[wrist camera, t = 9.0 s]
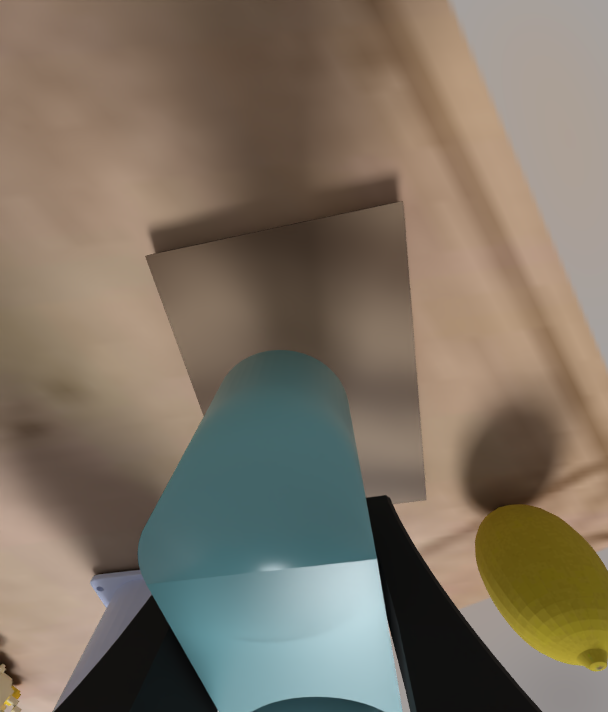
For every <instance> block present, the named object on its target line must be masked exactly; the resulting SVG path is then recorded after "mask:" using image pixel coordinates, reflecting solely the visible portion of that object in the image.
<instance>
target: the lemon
mask: <svg viewBox="0 0 608 712" xmlns="http://www.w3.org/2000/svg"><path fill="white" fill-rule="evenodd" d="M475 553H476V561H477V565H478V569H479V572H480V575H481V577H482V580H483V582H484V584H485V587H486V589H487V591H488V593H489V595H490V597H491V599H492V600H493V602H494V604H495V606H496V607H497V608H498V610H499V611H500V613H501V614H502V616H503V617H504V618H505V620H506V621H507V622H508V623H509V625H510V626H511V627H512V628H513V629H514V631H515V632H516V633H517V634H518V635H519V636H520V637H521V638H522V639H523V640H524V641H526V642H527V643H528V644H529V645H530V646H532V647H533V648H534V649H536V650H538V651H539V652H541V653H543V654H545V655H547V656H549V657H551V658H553V659H555V660H557V661H560V662H564V663H567V664H572V665H582V666H585V667H586V668H588V669H590V670H592V671H601V670H603V669H605V668H606V667H607V659H608V571H607V569H606V567H605V565H604V564H603V562H602V561H601V559H600V558H599V556H598V555H597V553H596V552H595V551H594V549H593V548H592V547H591V546H590V545H589V544H588V542H587V541H586V540H585V539H584V538H583V537H582V536H581V535H580V534H579V533H577V532H576V531H575V530H574V529H573V528H572V527H571V526H570V525H568V524H567V523H566V522H565V521H563V520H562V519H561V518H559V517H557V516H556V515H554V514H552V513H549V512H547V511H545V510H543V509H541V508H538V507H534V506H529V505H523V504H513V505H507V506H503V507H498V508H497V509H496V510H494V511H492V512H491V513H490V514H489V515H487V516H486V517H485V519H484V520H483V521H482V523H481V524H480V526H479V529H478V532H477V535H476V539H475Z"/></svg>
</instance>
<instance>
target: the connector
mask: <svg viewBox="0 0 608 712" xmlns="http://www.w3.org/2000/svg"><path fill="white" fill-rule="evenodd" d="M138 563H139V567H140V571H141V574H142V577H143V579H144V581H145V583H146V585H147V587H148V588H149V590H150V592H151V594H152V595H153V597H154V599H155V601H156V602H157V604H158V606H159V608H160V609H161V611H162V613H163V615H164V616H165V618H166V620H167V622H168V623H169V625H170V627H171V629H172V630H173V632H174V634H175V636H176V637H177V639H178V641H179V643H180V644H181V646H182V648H183V650H184V651H185V653H186V655H187V657H188V659H189V660H190V662H191V664H192V666H193V667H194V669H195V671H196V673H197V674H198V676H199V678H200V680H201V681H202V683H203V685H204V687H205V688H206V690H207V692H208V694H209V695H210V697H211V699H212V701H213V702H214V704H215V706H216V708H217V709H218V711H219V712H402V706H401V700H400V694H399V688H398V682H397V677H396V670H395V664H394V658H393V652H392V646H391V640H390V634H389V628H388V622H387V616H386V610H385V604H384V598H383V592H382V586H381V580H380V574H379V568H378V562H377V556H376V551H375V545H374V540H373V534H372V529H371V524H370V518H369V513H368V507H367V502H366V496H365V491H364V485H363V480H362V474H361V469H360V463H359V458H358V452H357V447H356V441H355V436H354V430H353V425H352V419H351V414H350V408H349V403H348V398H347V394H346V391H345V389H344V387H343V385H342V383H341V381H340V380H339V378H338V377H337V376H336V375H335V373H334V372H333V371H332V370H331V369H330V368H329V367H327V366H326V365H325V364H323V363H322V362H321V361H319V360H317V359H315V358H313V357H311V356H308V355H306V354H303V353H299V352H295V351H289V350H272V351H265V352H261V353H257V354H255V355H252V356H250V357H248V358H246V359H244V360H242V361H241V362H239V363H238V364H237V365H235V366H234V367H233V368H232V369H231V370H230V371H229V373H228V374H227V375H226V377H225V378H224V380H223V382H222V383H221V385H220V387H219V389H218V391H217V393H216V395H215V397H214V398H213V400H212V402H211V404H210V406H209V408H208V410H207V411H206V413H205V415H204V417H203V419H202V421H201V423H200V425H199V426H198V428H197V430H196V432H195V434H194V436H193V438H192V440H191V441H190V443H189V445H188V447H187V449H186V451H185V453H184V454H183V456H182V458H181V460H180V462H179V464H178V466H177V468H176V469H175V471H174V473H173V475H172V477H171V479H170V481H169V483H168V484H167V486H166V488H165V490H164V492H163V494H162V496H161V497H160V499H159V501H158V503H157V505H156V507H155V509H154V511H153V512H152V514H151V516H150V518H149V520H148V522H147V524H146V526H145V527H144V529H143V531H142V534H141V537H140V540H139V545H138Z"/></svg>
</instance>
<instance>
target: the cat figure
mask: <svg viewBox="0 0 608 712" xmlns="http://www.w3.org/2000/svg"><path fill="white" fill-rule="evenodd" d="M4 667H5V665H4V664H1V665H0V711H1V712H4V710H5V708H6V706H5V704H7V705H8V706H9V705H13V706H14V708H13V709H12V712H20V711H21V709H20V708H19V707H17V706H16V705H17V704H18V702H19V701H18V700H17V699H18V698H19V697H20V695H21V694H20V691H19V690H18V689H16V688H15V687H14V686H12V685H11V684H12V683H13V682H12V678H10V677H9V676H8V675H6V674H5V673H4V671H5V670H6V668H4Z"/></svg>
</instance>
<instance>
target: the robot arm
mask: <svg viewBox="0 0 608 712" xmlns="http://www.w3.org/2000/svg"><path fill="white" fill-rule="evenodd" d="M366 502H367V507H368V513H369V518H370V524H371V529H372V534H373V540H374V545H375V551H376V556H377V562H378V568H379V574H380V580H381V586H382V592H383V598H384V604H385V610H386V616H387V620H388V624H389V628H390V631H391V635H392V639H393V643H394V647H395V651H396V655H397V659H398V663H399V666H400V670H401V674H402V678H403V682H404V686H405V689H406V694H407V698H408V703H409V707H410V712H542V711H541V710H540V709H539V708H538V706H537V705H536V704H535V703H534V702H533V701H532V700H531V699H530V698H529V696H528V695H527V694H526V693H525V692H524V691H523V690H522V688H521V687H520V686H519V685H518V684H517V683H516V681H515V680H514V679H513V678H512V677H511V675H510V674H509V673H508V672H507V671H506V669H505V668H504V667H503V666H502V665H501V663H500V662H499V661H498V660H497V659H496V657H495V656H494V655H493V654H492V653H491V651H490V650H489V649H488V647H487V646H486V645H485V644H484V643H483V641H482V640H481V639H480V637H478V635H477V634H476V633H475V631H474V630H473V628H472V627H471V626H470V625H469V623H468V622H467V621H466V620H465V618H464V617H463V615H462V614H461V613H460V611H459V610H458V609H457V607H456V606H455V604H454V603H453V602H452V600H451V599H450V598H449V596H448V595H447V593H446V592H445V591H444V589H443V588H442V586H441V585H440V583H439V582H438V581H437V579H436V578H435V576H434V575H433V573H432V572H431V570H430V569H429V567H428V566H427V564H426V562H425V561H424V559H423V558H422V556H421V555H420V553H419V552H418V550H417V548H416V547H415V545H414V544H413V542H412V540H411V539H410V537H409V535H408V533H407V532H406V530H405V528H404V526H403V524H402V522H401V521H400V519H399V517H398V515H397V513H396V511H395V508H394V506H393V504H392V501H391V499H390V497H388V496H386V495H382V496H375V497H367V498H366ZM90 583H91V586H92V587H93V589H94V590H95V592H96V593H97V595H98V596H99V598H100V599H101V601H102V602H103V604H104V605H105V607H106V610H105V612H104V614H103V616H102V618H101V620H100V622H99V624H98V625H97V627H96V629H95V631H94V633H93V635H92V637H91V639H90V641H89V643H88V645H87V647H86V648H85V650H84V652H83V654H82V656H81V658H80V660H79V662H78V664H77V666H76V668H75V670H74V671H73V673H72V675H71V677H70V679H69V681H68V683H67V685H66V687H65V689H64V691H63V693H62V694H61V696H60V698H59V700H58V702H57V704H56V706H55V708H54V710H53V712H217V711H218V709H217V708H216V706H215V704H214V702H213V701H212V699H211V697H210V695H209V694H208V692H207V690H206V688H205V687H204V685H203V683H202V681H201V680H200V678H199V676H198V674H197V673H196V671H195V669H194V667H193V666H192V664H191V662H190V660H189V659H188V657H187V655H186V653H185V651H184V650H183V648H182V646H181V644H180V643H179V641H178V639H177V637H176V636H175V634H174V632H173V630H172V629H171V627H170V625H169V623H168V622H167V620H166V618H165V616H164V615H163V613H162V611H161V609H160V608H159V606H158V604H157V602H156V601H155V599H154V597H153V595H152V594H151V592H150V590H149V588H148V587H147V585H146V583H145V581H144V579H143V577H142V574H141V571H140V570H134V571H125V572H116V573H107V574H99V575H95V576H93V578H92V580H91V582H90Z"/></svg>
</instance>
